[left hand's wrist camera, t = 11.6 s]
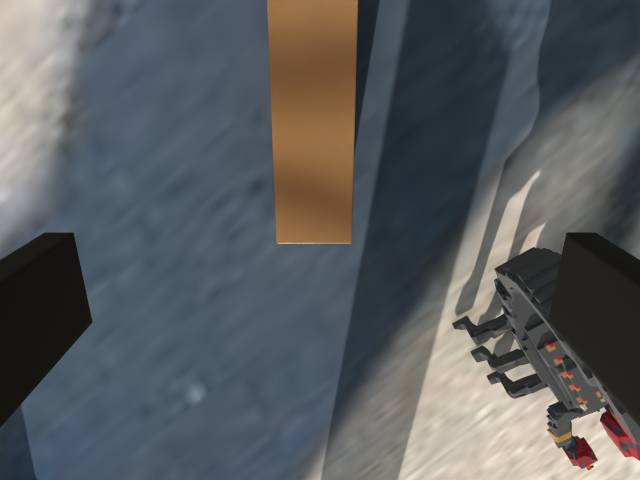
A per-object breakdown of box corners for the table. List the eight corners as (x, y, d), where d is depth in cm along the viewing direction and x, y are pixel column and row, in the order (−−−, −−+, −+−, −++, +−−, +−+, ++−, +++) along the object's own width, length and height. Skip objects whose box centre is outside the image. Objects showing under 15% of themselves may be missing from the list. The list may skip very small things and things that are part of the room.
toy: (554, 151, 34) (789, 241, 17) (669, 390, 42) (908, 614, 25) (399, 244, 37) (468, 402, 20) (536, 451, 45) (669, 691, 28)
